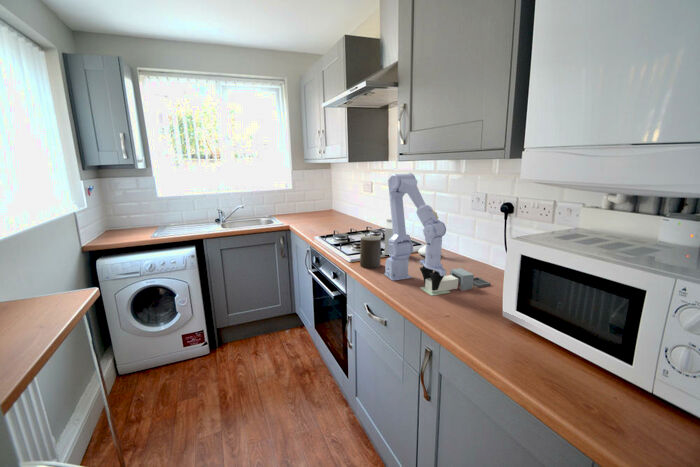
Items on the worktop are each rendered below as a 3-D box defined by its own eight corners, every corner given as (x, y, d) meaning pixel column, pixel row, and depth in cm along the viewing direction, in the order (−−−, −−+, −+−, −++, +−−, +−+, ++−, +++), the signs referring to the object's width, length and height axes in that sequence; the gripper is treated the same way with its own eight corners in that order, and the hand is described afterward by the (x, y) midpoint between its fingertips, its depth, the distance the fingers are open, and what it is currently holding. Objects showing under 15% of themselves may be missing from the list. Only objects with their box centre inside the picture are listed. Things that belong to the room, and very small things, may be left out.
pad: (431, 295, 119) (431, 295, 119) (419, 287, 126) (419, 287, 126) (450, 292, 122) (450, 292, 121) (438, 284, 129) (438, 284, 129)
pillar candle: (367, 270, 146) (368, 238, 143) (356, 264, 155) (356, 234, 151) (384, 266, 151) (385, 236, 148) (372, 261, 159) (373, 232, 156)
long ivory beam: (431, 292, 121) (432, 282, 120) (424, 288, 125) (425, 278, 124) (457, 288, 125) (458, 278, 124) (450, 284, 129) (451, 275, 128)
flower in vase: (441, 258, 162) (445, 210, 157) (419, 258, 164) (421, 210, 158) (437, 251, 175) (440, 206, 169) (416, 251, 176) (418, 206, 170)
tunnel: (462, 290, 123) (463, 276, 122) (449, 283, 131) (450, 269, 129) (472, 288, 125) (473, 274, 124) (459, 281, 132) (460, 268, 131)
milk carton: (397, 257, 165) (398, 221, 161) (384, 255, 168) (385, 220, 163) (400, 253, 172) (401, 219, 168) (387, 252, 174) (388, 218, 170)
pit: (477, 287, 126) (478, 285, 126) (465, 281, 133) (465, 278, 133) (490, 285, 128) (490, 283, 128) (477, 279, 135) (477, 277, 135)
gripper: (454, 258, 114) (451, 293, 118) (431, 247, 128) (429, 279, 131) (437, 260, 112) (435, 295, 115) (416, 249, 125) (414, 281, 129)
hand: (431, 287), depth 123 cm, fingers closed on long ivory beam, 4 cm apart
